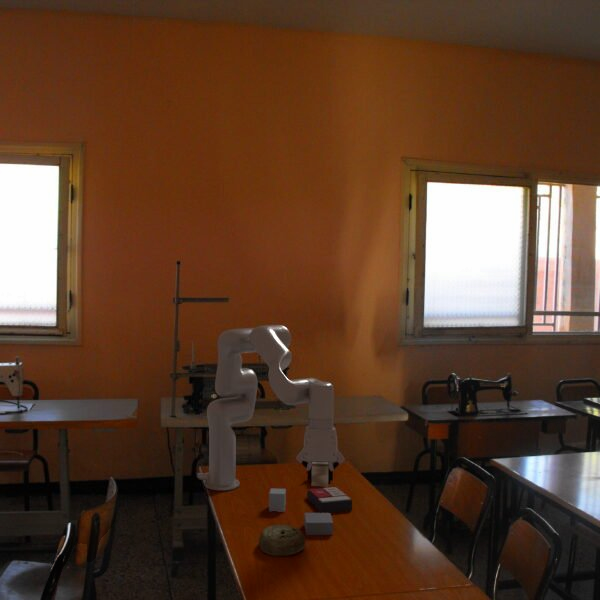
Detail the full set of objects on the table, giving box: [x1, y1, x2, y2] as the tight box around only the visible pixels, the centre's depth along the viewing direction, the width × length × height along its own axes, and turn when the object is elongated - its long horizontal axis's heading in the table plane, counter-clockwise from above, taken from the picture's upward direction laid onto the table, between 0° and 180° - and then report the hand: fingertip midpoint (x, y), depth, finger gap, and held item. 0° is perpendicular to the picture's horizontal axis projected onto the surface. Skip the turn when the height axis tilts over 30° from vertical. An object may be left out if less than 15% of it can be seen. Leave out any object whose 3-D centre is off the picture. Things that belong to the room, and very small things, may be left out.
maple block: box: [310, 462, 329, 487], centre depth 208 cm, size 5×5×6 cm
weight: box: [258, 524, 307, 557], centre depth 196 cm, size 14×13×5 cm
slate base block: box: [303, 512, 334, 536], centre depth 209 cm, size 8×8×4 cm
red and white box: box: [306, 486, 353, 513], centre depth 232 cm, size 11×4×15 cm
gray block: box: [268, 488, 287, 513], centre depth 226 cm, size 5×5×6 cm
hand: (320, 482), depth 208 cm, fingers closed on maple block, 5 cm apart
